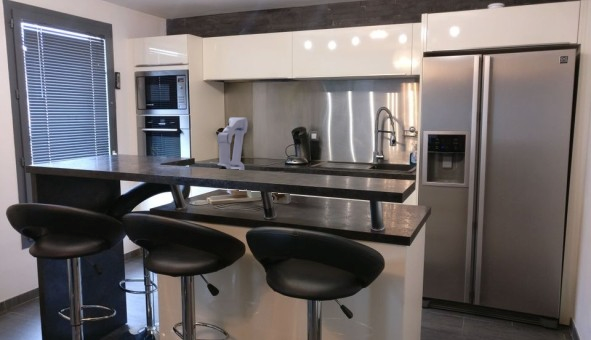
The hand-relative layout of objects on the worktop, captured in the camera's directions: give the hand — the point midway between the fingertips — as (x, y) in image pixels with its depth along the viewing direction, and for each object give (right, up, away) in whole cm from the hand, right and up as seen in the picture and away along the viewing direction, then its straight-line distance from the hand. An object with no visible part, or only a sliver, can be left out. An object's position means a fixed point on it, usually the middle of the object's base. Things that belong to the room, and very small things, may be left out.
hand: (225, 180), depth 242 cm
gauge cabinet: (+16, -8, +4) cm, 18 cm away
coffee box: (+30, -12, -4) cm, 33 cm away
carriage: (+7, -9, 0) cm, 11 cm away
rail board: (+6, -11, 0) cm, 12 cm away
